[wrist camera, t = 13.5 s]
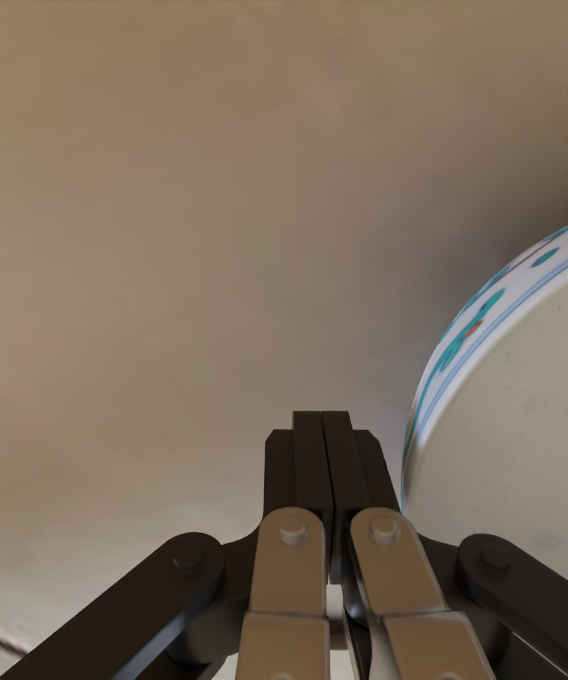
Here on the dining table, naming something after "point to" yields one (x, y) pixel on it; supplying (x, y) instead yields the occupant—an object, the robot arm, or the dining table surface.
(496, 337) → the chinaware
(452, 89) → the dining table surface
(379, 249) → the dining table surface
